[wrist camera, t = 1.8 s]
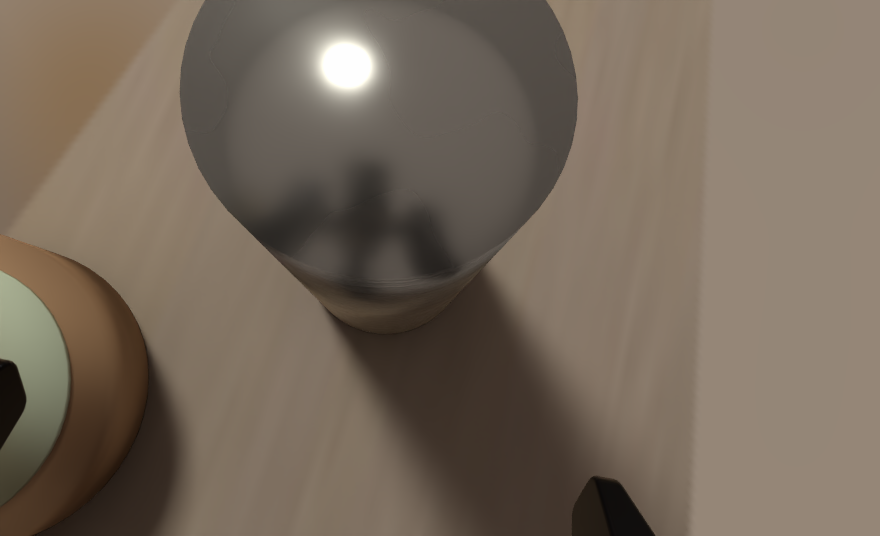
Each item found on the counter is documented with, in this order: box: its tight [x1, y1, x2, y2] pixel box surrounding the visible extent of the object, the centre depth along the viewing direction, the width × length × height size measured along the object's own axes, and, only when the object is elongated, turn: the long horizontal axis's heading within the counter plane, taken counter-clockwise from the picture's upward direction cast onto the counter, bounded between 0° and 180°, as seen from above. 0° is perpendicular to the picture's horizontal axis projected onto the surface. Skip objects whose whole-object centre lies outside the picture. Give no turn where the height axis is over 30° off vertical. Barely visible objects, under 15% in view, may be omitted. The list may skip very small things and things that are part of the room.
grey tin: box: [180, 0, 578, 334], centre depth 15 cm, size 6×6×13 cm
